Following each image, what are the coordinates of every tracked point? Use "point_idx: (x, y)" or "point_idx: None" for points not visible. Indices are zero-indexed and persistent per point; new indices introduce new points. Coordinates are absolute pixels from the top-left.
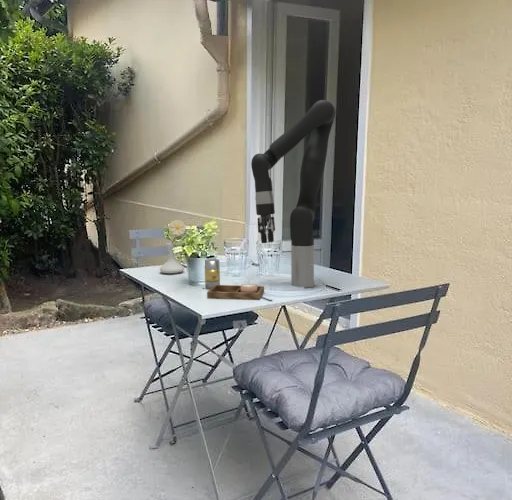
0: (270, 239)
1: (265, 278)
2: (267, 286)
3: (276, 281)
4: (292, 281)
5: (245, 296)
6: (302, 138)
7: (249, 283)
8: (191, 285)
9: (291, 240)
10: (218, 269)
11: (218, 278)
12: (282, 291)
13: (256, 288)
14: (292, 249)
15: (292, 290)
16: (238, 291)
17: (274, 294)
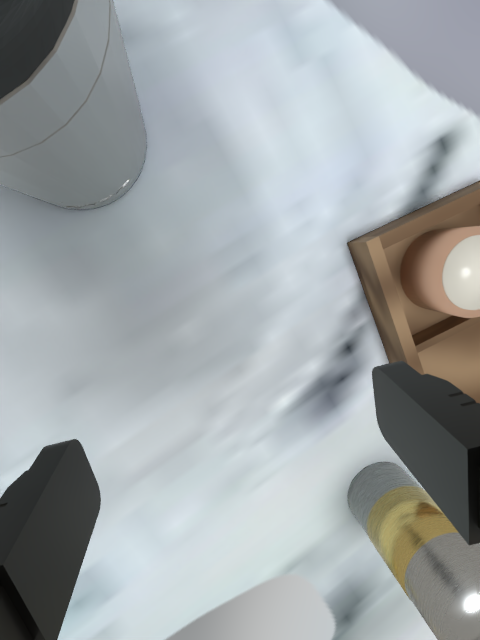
0: (77, 497)
1: (41, 433)
2: (206, 312)
3: (70, 337)
4: (131, 175)
5: None
6: None
7: (445, 291)
8: (362, 603)
9: (11, 24)
10: (445, 533)
11: (414, 496)
12: (263, 179)
13: (464, 227)
14: (75, 79)
15: (215, 137)
16: (456, 322)
17: (338, 185)
